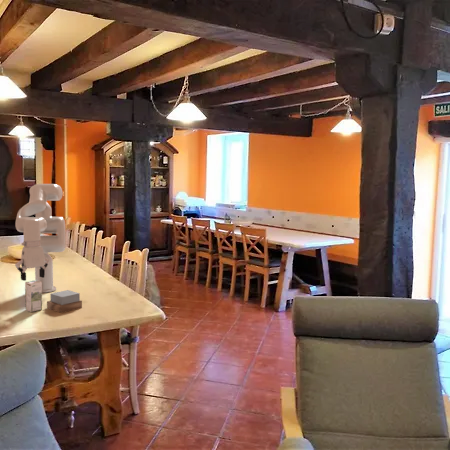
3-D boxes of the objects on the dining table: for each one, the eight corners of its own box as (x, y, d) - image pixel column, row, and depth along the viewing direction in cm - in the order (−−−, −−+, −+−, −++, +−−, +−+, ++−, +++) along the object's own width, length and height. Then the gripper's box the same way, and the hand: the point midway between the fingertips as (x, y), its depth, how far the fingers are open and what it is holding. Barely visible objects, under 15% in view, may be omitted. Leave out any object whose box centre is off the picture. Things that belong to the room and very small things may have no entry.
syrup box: (36, 307, 236) (35, 279, 234) (42, 310, 232) (41, 281, 230) (25, 310, 231) (24, 281, 230) (31, 312, 228) (30, 283, 226)
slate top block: (50, 301, 235) (50, 293, 235) (68, 297, 243) (68, 289, 243) (61, 305, 229) (61, 297, 229) (79, 301, 237) (79, 293, 236)
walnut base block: (47, 309, 235) (46, 301, 235) (67, 304, 245) (67, 296, 245) (61, 313, 228) (61, 305, 228) (82, 308, 238) (81, 300, 238)
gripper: (19, 246, 219) (20, 282, 220) (52, 243, 232) (53, 277, 234) (11, 245, 223) (11, 280, 225) (43, 241, 237) (44, 275, 238)
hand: (32, 278), depth 229 cm, fingers open, 9 cm apart
